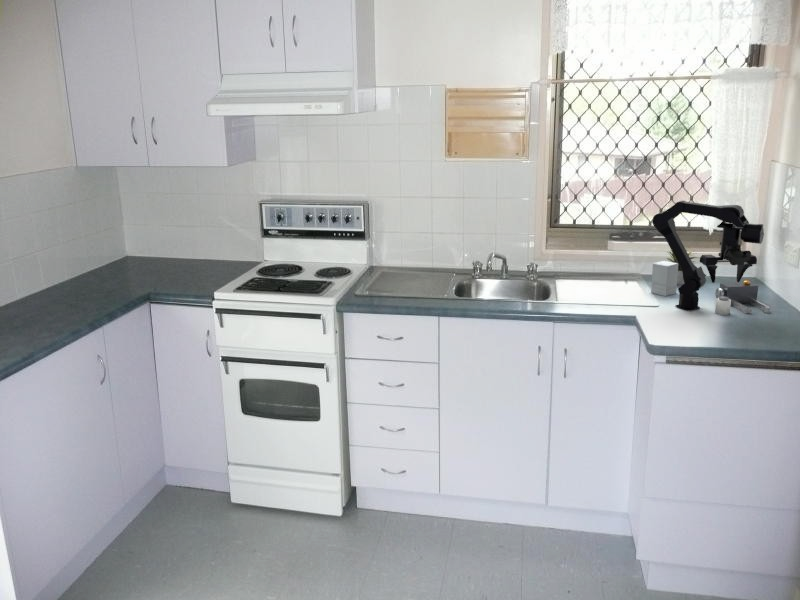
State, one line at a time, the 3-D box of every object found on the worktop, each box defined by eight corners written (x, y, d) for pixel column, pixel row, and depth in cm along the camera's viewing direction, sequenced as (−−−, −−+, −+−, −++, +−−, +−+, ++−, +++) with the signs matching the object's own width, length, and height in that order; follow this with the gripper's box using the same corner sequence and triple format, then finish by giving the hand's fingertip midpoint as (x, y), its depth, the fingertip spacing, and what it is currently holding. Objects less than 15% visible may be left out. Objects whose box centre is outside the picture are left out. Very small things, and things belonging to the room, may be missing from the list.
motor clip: (737, 314, 263) (739, 292, 261) (713, 300, 281) (715, 280, 279) (774, 312, 264) (777, 291, 261) (748, 298, 282) (750, 278, 279)
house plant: (677, 289, 297) (680, 251, 292) (652, 282, 308) (654, 245, 304) (701, 285, 303) (705, 247, 298) (675, 278, 315) (678, 241, 310)
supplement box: (676, 293, 292) (679, 263, 288) (665, 296, 288) (667, 266, 284) (661, 289, 298) (663, 260, 294) (650, 292, 294) (652, 262, 290)
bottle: (712, 312, 266) (713, 296, 265) (721, 310, 268) (723, 295, 267) (722, 315, 262) (724, 300, 260) (732, 313, 264) (734, 298, 262)
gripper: (715, 246, 249) (710, 289, 254) (767, 244, 250) (762, 287, 254) (701, 239, 260) (696, 280, 264) (751, 238, 260) (746, 279, 265)
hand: (725, 282), depth 262 cm, fingers open, 9 cm apart
